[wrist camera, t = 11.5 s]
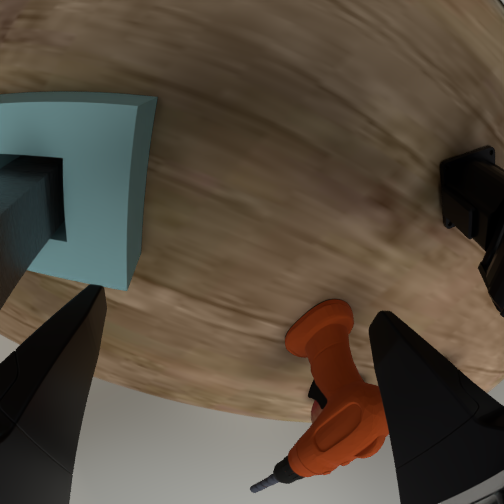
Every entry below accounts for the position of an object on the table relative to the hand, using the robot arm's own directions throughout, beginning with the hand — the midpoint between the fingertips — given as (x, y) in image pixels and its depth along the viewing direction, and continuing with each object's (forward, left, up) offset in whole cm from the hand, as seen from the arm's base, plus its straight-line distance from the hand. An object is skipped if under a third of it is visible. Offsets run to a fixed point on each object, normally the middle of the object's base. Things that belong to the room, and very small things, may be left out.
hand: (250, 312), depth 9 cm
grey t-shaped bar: (+12, -6, -13) cm, 18 cm away
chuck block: (+16, -9, -13) cm, 22 cm away
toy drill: (+3, +20, -13) cm, 24 cm away
